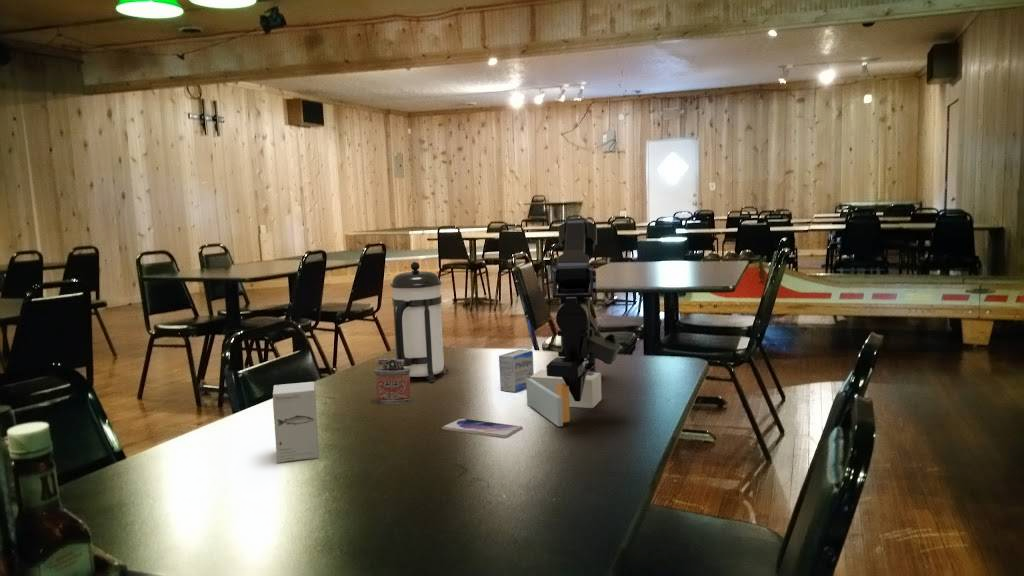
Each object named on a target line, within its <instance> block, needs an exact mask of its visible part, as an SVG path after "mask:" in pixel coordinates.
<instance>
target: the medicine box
mask: <svg viewBox="0 0 1024 576" xmlns="http://www.w3.org/2000/svg"><path fill="white" fill-rule="evenodd" d="M533 353H534V351H532V350H529V349H517V350H514V351H511V352H506V353H504V354H500V355H499V356H498V365H499V367H498V368H499V383H500V385H499V386H500V391H501V392H502V391H503V392H508V393H514V394H515V393H518V392H521V391H524V390H527V385H526V378H530V377H531V376H532V375H534V374H535V373H534V354H533Z"/></svg>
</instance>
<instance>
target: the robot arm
mask: <svg viewBox="0 0 1024 576" xmlns="http://www.w3.org/2000/svg"><path fill="white" fill-rule="evenodd" d="M597 234H598V230H597V225H596V224H595V223H592V222H590V221H589V220H588V218H585V217H580V218H579V217H578V218H577V217H576V218H575V217H573V218H567V219H564V223H562V224H560V225H558V243H559V246H561V247H562V254H560V255H558V256H557V259H556V266H553V268H552V269H553V270H552V273H553V274H552V299H560V300H559V308H558V310H557V311H556V312H557V313H556V315H555V321H556V324H557V327H558V330H556V331H557V332H556V333H557V337H560V347H561V349H560V350H558V351H557V355H558V356H557V357H555V358H554V359H552V360H551V361H549V363H547V365H545V366H546V370H547V376H552V377H562V378H563V380H564V381H565V383H566V385H567V386H569V391H570V393H571V395H572V397H573V399H574V400H575V401H578V402H579V401H580V400H581V397H582V392H583V388H584V383H585V379H586V375H587V373H588V372H589V371H591V372H594V373H597V365H596V363H597V361H596V360H599V361H602V362H603V364H606V365H612V364H613V362H615V361H616V358H617V356H618V353H619V351H620V350H621V343H619V341H618V340H619V339H618V335H616V334H613V333H611V332H610V333H608V334H607V336H605V337H604V336H602V334H601V331H600V330H598V322H597V320H596V319H595V318H594V317H593V315H592V314H591V301H590V299H591V298H594V293H597V272H596V270H595V267H594V265H590V261H591V260H592V258H593V257H594V255H595V251H594V250H595V246H597V244H598V235H597Z"/></svg>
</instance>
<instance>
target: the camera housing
mask: <svg viewBox="0 0 1024 576" xmlns="http://www.w3.org/2000/svg"><path fill="white" fill-rule="evenodd" d="M530 378H532V379H533V380H535V381H536V382H538V383H539V384H541V385H543V386H544V387H546V388H547V389H549V390H550V391H552V392H554V393H555V394H556V384H558V383H564V384H566V383H565V381H564V380H563V378H562V377H552V376H547V369H540V370H538V371H537V372H535V373H534V375H532V376H531V377H530ZM602 398H603V397H602V374H601V372H596V373H594V372H591V371H589V372H588V373H587V375H586V379H585V383H584V388H583V392H582V397H581V400H580V401H579V402H578V401H575V400H574V399H573V397H572V395H571V393H570V391H569V408H571V407H572V408H581V409H582V408H584V409H585V408H586V409H594V408H595V406H596V405H598V404H599V403H600V402H601V401H602V400H603V399H602Z"/></svg>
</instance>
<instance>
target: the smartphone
mask: <svg viewBox="0 0 1024 576" xmlns="http://www.w3.org/2000/svg"><path fill="white" fill-rule="evenodd" d="M441 429H442V430H444V431H450V432H451V431H452V432H458V433H463V434H464V433H465V434H473V435H478V436H484V435H485V437H491V438H498V439H508V438H510V437H512V436H513V435H515V434H517V433H518V432H521V431H522V430H523V426H521V425H515V424H508V423H507V424H506V423H499V422H493V421H483V420H475V419H467V418H459V419H457V420H453V421H452V422H449V423H447V424H445V425H443V426H442V427H441Z"/></svg>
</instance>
